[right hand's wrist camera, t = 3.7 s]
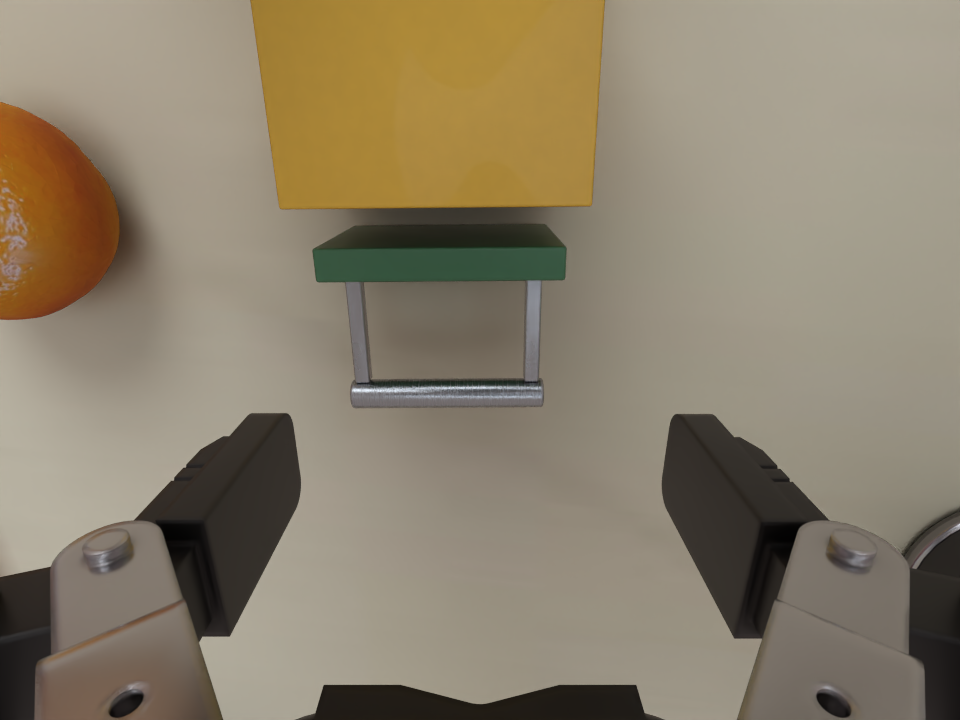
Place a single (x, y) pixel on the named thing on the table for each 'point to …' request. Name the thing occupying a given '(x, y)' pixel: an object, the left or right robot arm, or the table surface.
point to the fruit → (49, 218)
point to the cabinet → (431, 101)
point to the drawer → (443, 259)
